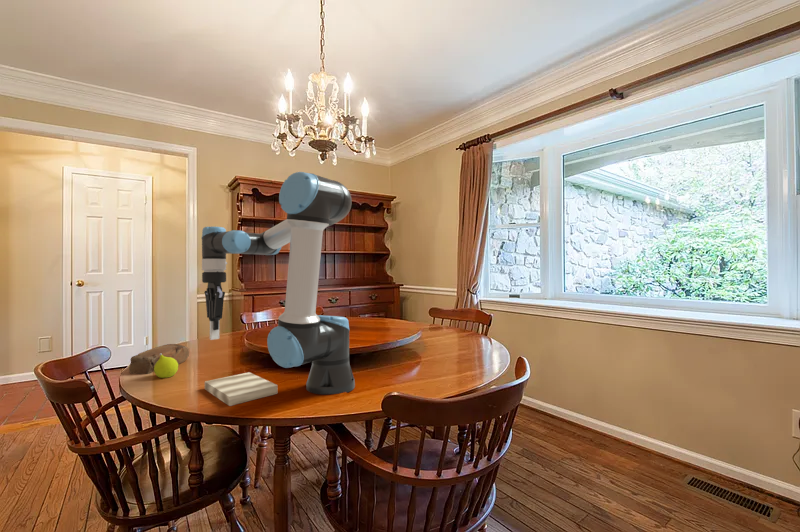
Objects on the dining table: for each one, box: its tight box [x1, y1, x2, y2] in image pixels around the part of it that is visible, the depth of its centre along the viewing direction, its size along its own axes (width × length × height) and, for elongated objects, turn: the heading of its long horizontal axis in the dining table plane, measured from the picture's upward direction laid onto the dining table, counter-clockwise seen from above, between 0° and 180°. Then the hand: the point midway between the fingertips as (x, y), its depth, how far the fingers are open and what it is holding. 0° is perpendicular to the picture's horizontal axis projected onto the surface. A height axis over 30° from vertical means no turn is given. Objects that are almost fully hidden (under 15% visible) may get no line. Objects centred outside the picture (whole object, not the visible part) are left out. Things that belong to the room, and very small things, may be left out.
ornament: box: [153, 352, 179, 379], centre depth 127 cm, size 7×7×10 cm
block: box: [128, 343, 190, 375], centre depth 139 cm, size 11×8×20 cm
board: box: [204, 371, 279, 407], centre depth 112 cm, size 20×14×2 cm
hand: (214, 338), depth 128 cm, fingers closed
